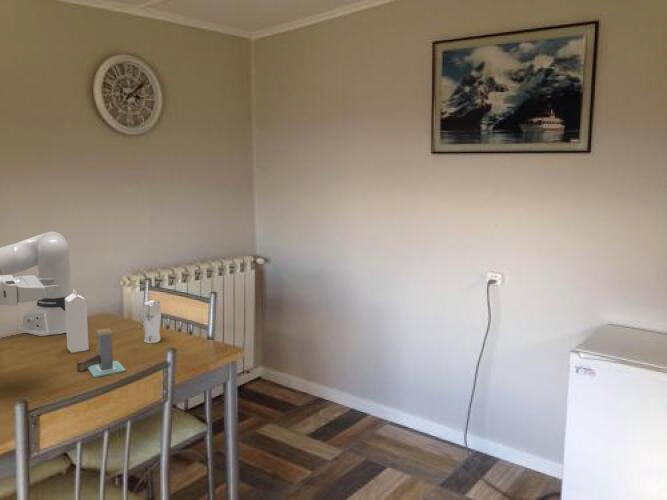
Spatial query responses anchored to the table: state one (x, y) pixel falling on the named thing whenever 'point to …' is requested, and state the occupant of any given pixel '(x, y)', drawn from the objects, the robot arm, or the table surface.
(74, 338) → the milk
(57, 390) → the table surface
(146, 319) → the beer glass
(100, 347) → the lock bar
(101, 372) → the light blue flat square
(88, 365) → the dark brown bar
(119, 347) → the table surface
